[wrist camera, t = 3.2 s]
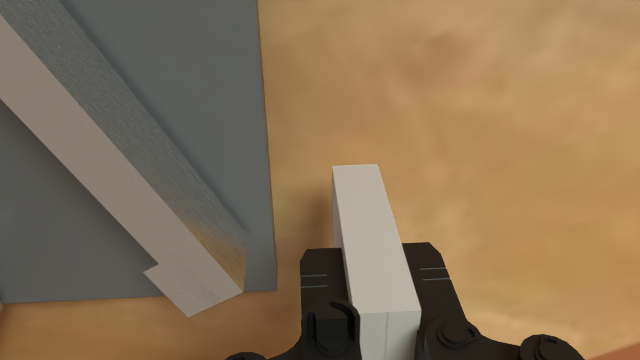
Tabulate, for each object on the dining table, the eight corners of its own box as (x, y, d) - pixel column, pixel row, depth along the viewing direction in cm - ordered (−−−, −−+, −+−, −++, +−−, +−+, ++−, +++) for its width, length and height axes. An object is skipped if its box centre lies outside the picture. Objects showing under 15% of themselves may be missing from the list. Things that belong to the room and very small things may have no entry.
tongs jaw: (-150, -130, 13) (-254, -128, 11) (-87, -181, 13) (-181, -192, 10) (200, 260, 20) (188, 317, 18) (248, 236, 20) (243, 292, 17)
